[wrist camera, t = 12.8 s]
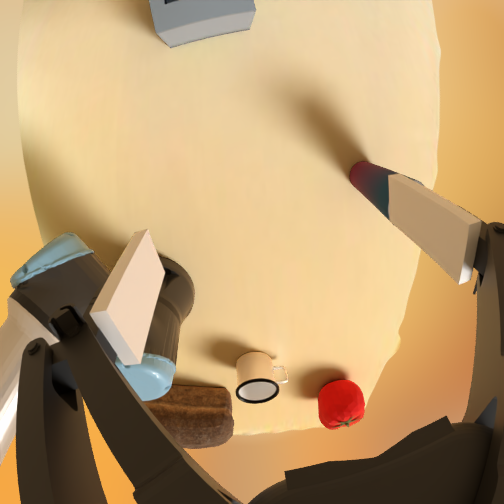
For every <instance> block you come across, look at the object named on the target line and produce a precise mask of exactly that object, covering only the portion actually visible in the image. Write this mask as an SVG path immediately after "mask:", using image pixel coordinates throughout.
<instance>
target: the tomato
mask: <svg viewBox="0 0 504 504" xmlns="http://www.w3.org/2000/svg"><path fill="white" fill-rule="evenodd" d="M364 406H365V402H364V397H363V393H362V391H361V389H360V388H359V386H358V385H356V384H355V383H354V382H352V381H350V380H338V381H334V382H331V383H328V384H326V385H325V386H324V387H323V388H322V389H321V391H320V393H319V397H318V409H319V419H320V421H321V423H322V424H323V425H324V426H325V427H326V428H328V429H331V430H333V429H338V428H340V427H342V426H348V427H349V426H351V425H353V424H355V423H357V422H359V421H360V420H361V419H362V418H363V415H364Z"/></svg>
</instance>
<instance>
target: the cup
mask: <svg viewBox="0 0 504 504" xmlns="http://www.w3.org/2000/svg"><path fill="white" fill-rule="evenodd" d="M394 174H399V173H397V172H394V171H391V170H389V169H386V168H383V167H380V166H377V165H375V164H372V163H369V162H365V161H361V162H358V163H356V164H355V165H354V166H353V167H352V169H351V171H350V181H351V183H352V185H353V186H354V187H355V188H356V189H357V190H359V191H360V192H361V193H362V194H363V195H364V196H365V197H366V198H367V199H368V200H369V201H370V202H371V203H372V204H373V205H374V206H375V207H376V208H377V209H378V210H379V211H380V212H381V213H382V214H383V215H384V216H385V217H386V218H387V219H388V220H389V221H390V216H389V180H388V175H394ZM401 175H402V174H401ZM403 176H404V175H403ZM405 177H407V176H405ZM407 178H409V179H411V180H413V181H415V182H417V183H419V184H421V185H422V186H424V185H423V184H422V183H421V182H419V181H417V180H415V179H412V178H410V177H407ZM424 187H425V186H424ZM392 224H393V223H392ZM393 225H394V224H393Z"/></svg>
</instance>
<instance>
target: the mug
mask: <svg viewBox="0 0 504 504" xmlns="http://www.w3.org/2000/svg"><path fill="white" fill-rule="evenodd" d="M236 368H237V382H238V387H237V389H236V396H237V398H238V399H239V400H241V401H243V402H246V403H252V404H258V403H264V402H267V401H270V400H272V399H273V398H275V397H276V396H277V395H278V393H279V386H278V384H282V383H287V382H288V373H287V370H286V368H285V367H284V366H273V365H272V360H271V358H270V356H268V355H267V354H265V353H262V352H250V353H246V354H244V355H242V356H241V357H239V359H238V360H237V362H236ZM276 369H284V371H285V374H286V379H287V380H283V381H275V377H274V371H273V370H276Z"/></svg>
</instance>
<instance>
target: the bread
mask: <svg viewBox="0 0 504 504" xmlns="http://www.w3.org/2000/svg"><path fill="white" fill-rule="evenodd" d="M143 402H144V404H145V405H146V406H147V407H148V409H149V410H150V411H151V412H152V414H153V415H154V416H155V417H156V418H157V420H158V421H159V422H160V423H161V424H162V426H163V427H164V428H165V429H166V430H167V431H168V432H169V434H170V435H171V436H172V437H173V438H174V439H175V440H176V441H177V443H178V444H179V445H180V446H181V447H182V448H189V449H199V448H207V447H215V446H219V445H221V444H224V443H226V442H227V441H228V440H229V439H230V437H231V436H232V435H233V426H234V420H233V417H232V402H231V395H230V392H229V391H228V390H227V389H226V388H211V387H196V386H179V385H171V388H170V389H169V391H168V392H167V393H166V394H165V395H163V396H162V397H159V398H157V399H154V400H149V401H143Z"/></svg>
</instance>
